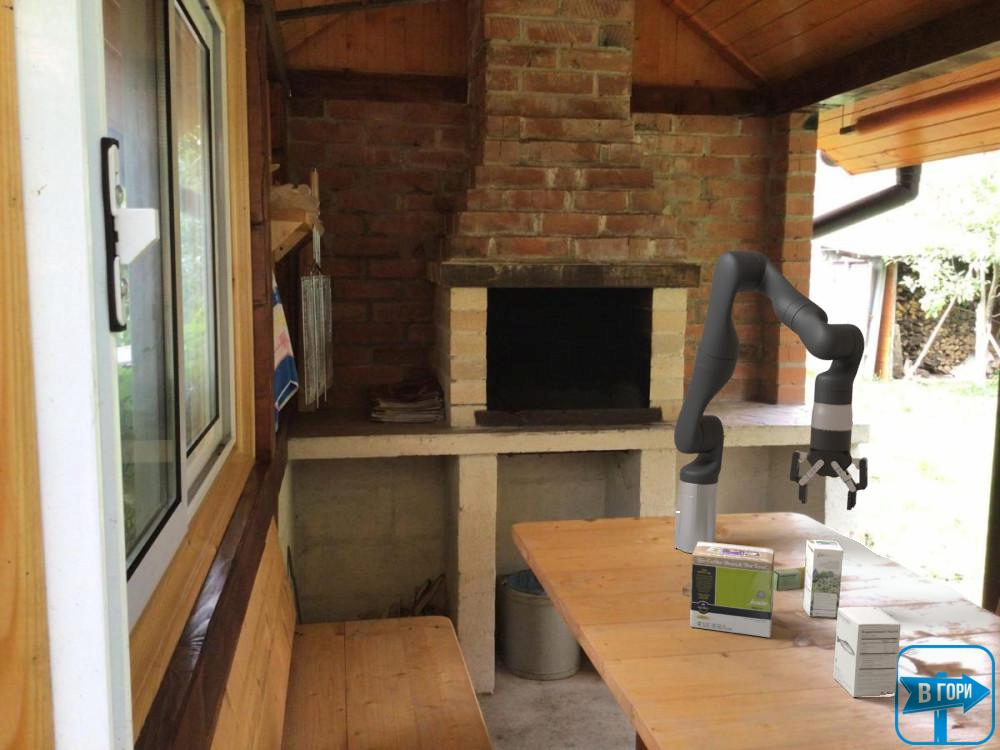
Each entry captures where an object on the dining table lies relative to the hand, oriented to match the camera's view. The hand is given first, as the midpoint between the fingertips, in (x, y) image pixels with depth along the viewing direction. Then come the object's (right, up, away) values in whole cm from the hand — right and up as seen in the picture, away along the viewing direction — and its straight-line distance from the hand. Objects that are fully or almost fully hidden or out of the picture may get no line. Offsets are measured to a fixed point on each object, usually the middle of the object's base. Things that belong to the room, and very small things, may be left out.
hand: (826, 506), depth 174 cm
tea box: (-20, -23, -4) cm, 30 cm away
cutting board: (-18, -20, +12) cm, 30 cm away
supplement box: (-5, -26, -29) cm, 39 cm away
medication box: (0, -21, +18) cm, 27 cm away
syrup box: (0, -22, +3) cm, 22 cm away
